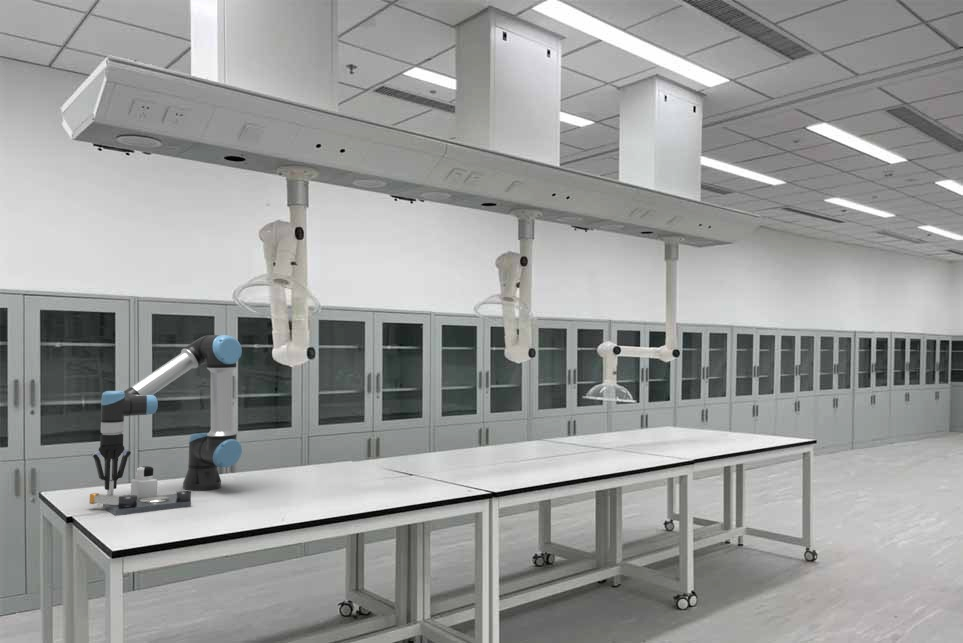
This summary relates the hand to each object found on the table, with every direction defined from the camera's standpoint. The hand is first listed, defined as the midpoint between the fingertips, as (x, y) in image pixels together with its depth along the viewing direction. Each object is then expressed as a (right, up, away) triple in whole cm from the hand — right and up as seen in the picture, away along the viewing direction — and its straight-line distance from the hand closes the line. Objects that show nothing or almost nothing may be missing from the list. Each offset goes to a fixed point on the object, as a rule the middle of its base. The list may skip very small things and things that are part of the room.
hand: (110, 498), depth 262 cm
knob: (+23, -3, +8) cm, 25 cm away
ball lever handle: (+3, -1, -3) cm, 4 cm away
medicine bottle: (+3, -5, +19) cm, 20 cm away
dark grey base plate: (+12, -4, +4) cm, 13 cm away
